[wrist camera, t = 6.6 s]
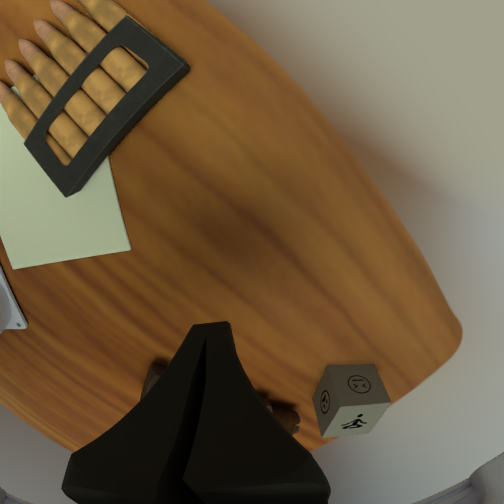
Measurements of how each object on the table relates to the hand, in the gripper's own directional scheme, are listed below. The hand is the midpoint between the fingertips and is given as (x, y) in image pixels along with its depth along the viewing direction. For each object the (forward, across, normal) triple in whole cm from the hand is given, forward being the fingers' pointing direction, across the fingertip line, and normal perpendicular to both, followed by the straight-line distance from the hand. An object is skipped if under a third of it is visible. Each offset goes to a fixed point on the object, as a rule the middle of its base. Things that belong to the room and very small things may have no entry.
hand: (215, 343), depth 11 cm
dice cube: (+11, -9, +17) cm, 22 cm away
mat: (+10, +12, -7) cm, 18 cm away
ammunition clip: (+9, +4, -8) cm, 13 cm away
